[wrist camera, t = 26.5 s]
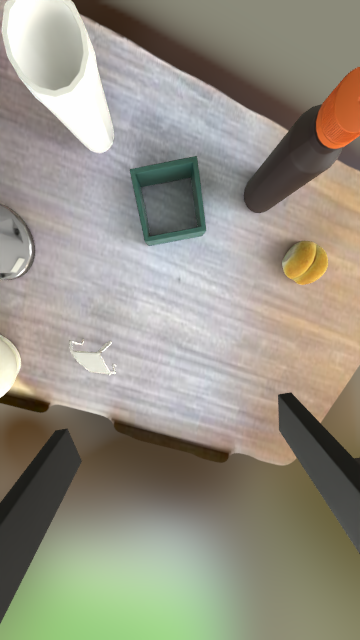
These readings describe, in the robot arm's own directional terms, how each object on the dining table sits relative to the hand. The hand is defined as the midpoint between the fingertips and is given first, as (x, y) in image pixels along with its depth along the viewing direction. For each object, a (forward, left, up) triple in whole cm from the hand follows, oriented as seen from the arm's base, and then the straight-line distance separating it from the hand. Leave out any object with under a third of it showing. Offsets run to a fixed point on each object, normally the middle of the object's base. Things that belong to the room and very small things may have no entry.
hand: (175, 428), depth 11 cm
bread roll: (+18, +24, -32) cm, 44 cm away
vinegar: (+2, +30, -32) cm, 44 cm away
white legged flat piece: (-12, -18, -32) cm, 39 cm away
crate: (-12, +18, -32) cm, 38 cm away
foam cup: (-30, +22, -32) cm, 49 cm away
